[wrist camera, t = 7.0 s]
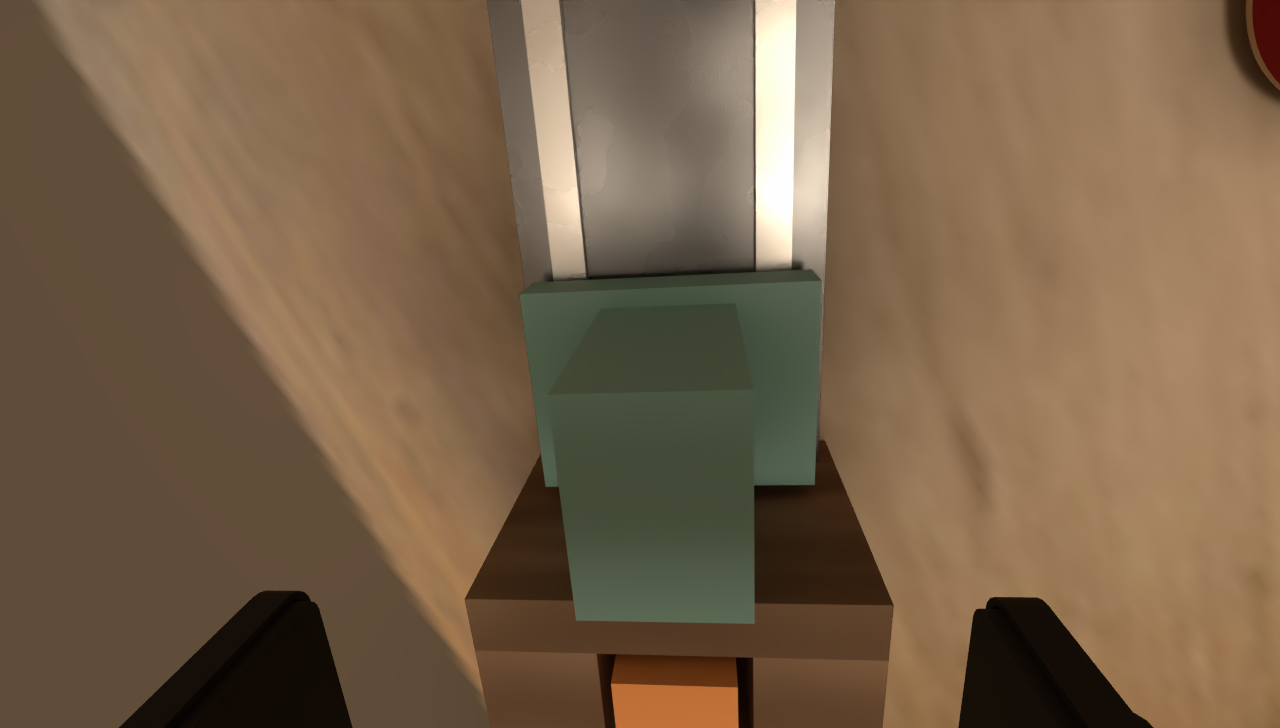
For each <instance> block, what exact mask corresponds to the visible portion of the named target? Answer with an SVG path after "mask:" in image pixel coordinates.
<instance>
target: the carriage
mask: <svg viewBox="0 0 1280 728" xmlns="http://www.w3.org/2000/svg"><path fill="white" fill-rule="evenodd" d="M821 290H822V280H821V279H820V278H819V277H818V276H817V275H816V274H815V272H814V271H813V270H812V269H811V270H790V271H769V272H747V273H726V274H705V275H683V276H662V277H641V278H620V279H598V280H577V281H556V282H534V283H533V284H531V285H530V286H529V287H528V288H526V289H525V290H524V291H523V292H521V293H520V294H519V296H520V304H521V311H522V318H523V326H524V333H525V340H526V347H527V355H528V362H529V369H530V377H531V384H532V391H533V399H534V406H535V413H536V420H537V428H538V435H539V442H540V450H541V457H542V464H543V472H544V479H545V486H546V487H559V492H560V500H561V508H562V515H563V523H564V531H565V539H566V547H567V554H568V562H569V570H570V578H571V585H572V593H573V601H574V609H575V617H576V621H629V622H683V623H736V624H755V587H754V485H815V462H816V434H817V405H818V376H819V348H820V319H821Z"/></svg>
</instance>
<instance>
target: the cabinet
mask: <svg viewBox="0 0 1280 728" xmlns="http://www.w3.org/2000/svg"><path fill="white" fill-rule="evenodd" d="M754 587H755V624H736V623H683V622H629V621H576V617H575V609H574V601H573V593H572V585H571V578H570V570H569V562H568V554H567V547H566V539H565V531H564V523H563V515H562V508H561V500H560V492H559V487H546V486H545V479H544V472H543V464H542V457H541V454H540V456H539V458H538V460H537V462H536V464H535V466H534V468H533V470H532V472H531V474H530V475H529V477H528V479H527V481H526V483H525V485H524V487H523V489H522V491H521V493H520V495H519V496H518V498H517V500H516V502H515V504H514V506H513V508H512V510H511V512H510V514H509V516H508V517H507V519H506V521H505V523H504V525H503V527H502V529H501V531H500V533H499V535H498V536H497V538H496V540H495V542H494V544H493V546H492V548H491V550H490V552H489V554H488V556H487V557H486V559H485V561H484V563H483V565H482V567H481V569H480V571H479V573H478V575H477V577H476V578H475V580H474V582H473V584H472V586H471V588H470V590H469V592H468V594H467V596H466V598H465V603H466V608H467V613H468V618H469V623H470V628H471V633H472V638H473V643H474V648H475V653H476V657H477V662H478V667H479V672H480V677H481V682H482V687H483V692H484V697H485V702H486V707H487V712H488V716H489V721H490V726H491V728H616V725H615V716H614V707H613V697H612V688H611V681H612V675H613V669H614V663H615V657H616V654H631V655H671V656H711V657H736V668H737V683H738V728H882V727H883V716H884V705H885V694H886V683H887V673H888V662H889V651H890V640H891V629H892V618H893V608H894V605H893V603H892V600H891V598H890V595H889V593H888V591H887V588H886V586H885V584H884V581H883V579H882V576H881V574H880V572H879V569H878V567H877V564H876V562H875V560H874V557H873V555H872V552H871V550H870V548H869V545H868V543H867V540H866V538H865V536H864V533H863V531H862V528H861V526H860V524H859V521H858V519H857V516H856V514H855V512H854V509H853V507H852V504H851V502H850V500H849V497H848V495H847V492H846V490H845V488H844V485H843V483H842V481H841V478H840V476H839V473H838V471H837V469H836V466H835V464H834V461H833V459H832V457H831V454H830V452H829V449H828V447H827V445H826V442H825V441H819V452H818V463H815V485H754Z"/></svg>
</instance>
